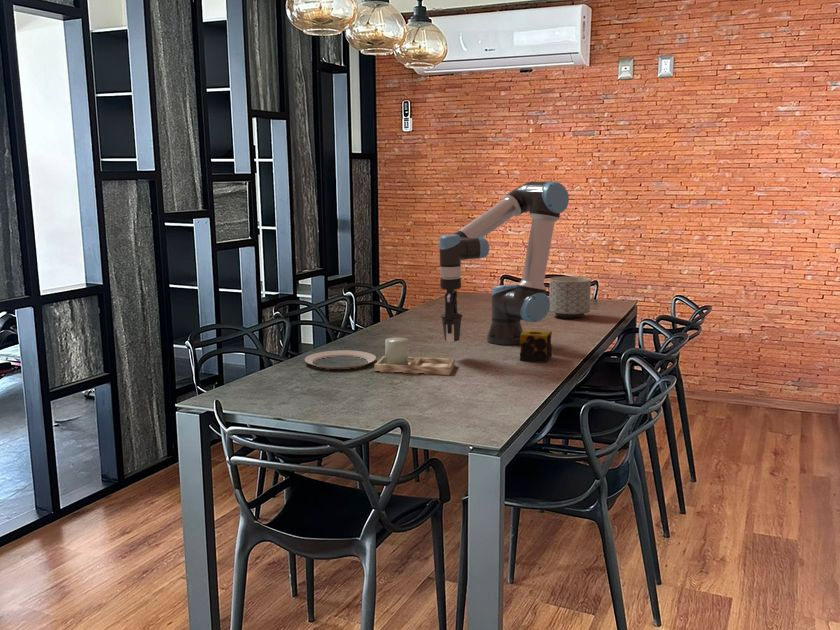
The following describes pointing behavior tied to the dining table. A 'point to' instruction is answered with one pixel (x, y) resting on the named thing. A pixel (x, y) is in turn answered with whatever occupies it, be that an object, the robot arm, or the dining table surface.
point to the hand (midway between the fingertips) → (451, 339)
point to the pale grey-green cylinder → (396, 351)
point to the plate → (320, 355)
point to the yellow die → (535, 346)
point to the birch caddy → (418, 366)
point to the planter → (570, 296)
